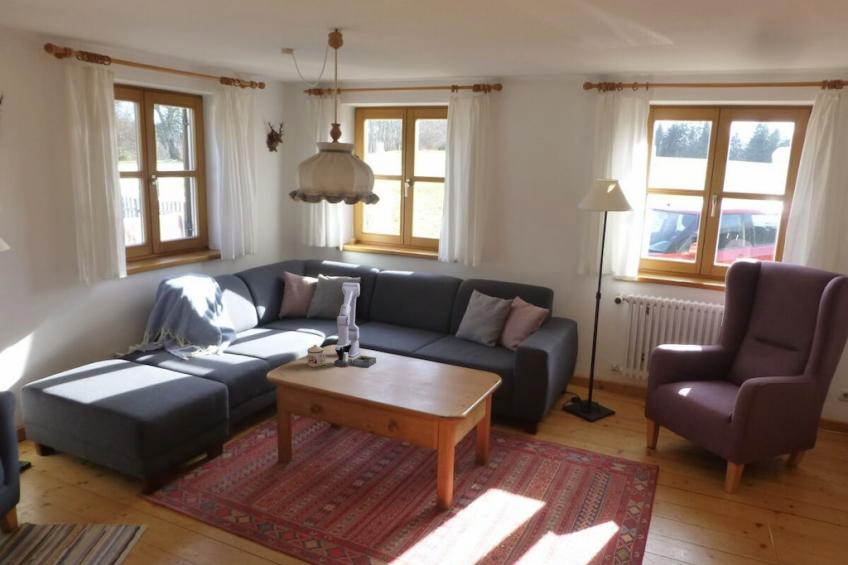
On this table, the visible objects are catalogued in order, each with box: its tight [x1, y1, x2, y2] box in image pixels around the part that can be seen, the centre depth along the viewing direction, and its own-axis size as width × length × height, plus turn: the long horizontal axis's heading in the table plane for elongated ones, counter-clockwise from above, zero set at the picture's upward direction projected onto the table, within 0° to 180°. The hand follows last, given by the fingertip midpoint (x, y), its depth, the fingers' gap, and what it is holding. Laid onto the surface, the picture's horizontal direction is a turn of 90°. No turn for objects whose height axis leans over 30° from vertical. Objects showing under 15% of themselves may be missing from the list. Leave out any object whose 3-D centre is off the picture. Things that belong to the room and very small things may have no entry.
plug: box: [339, 352, 349, 362], centre depth 354 cm, size 3×4×7 cm, turn 69°
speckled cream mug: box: [307, 344, 327, 368], centre depth 351 cm, size 12×9×12 cm
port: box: [352, 355, 377, 369], centre depth 356 cm, size 10×10×3 cm
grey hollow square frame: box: [333, 358, 354, 368], centre depth 354 cm, size 7×8×2 cm
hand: (343, 358), depth 354 cm, fingers open, 6 cm apart
